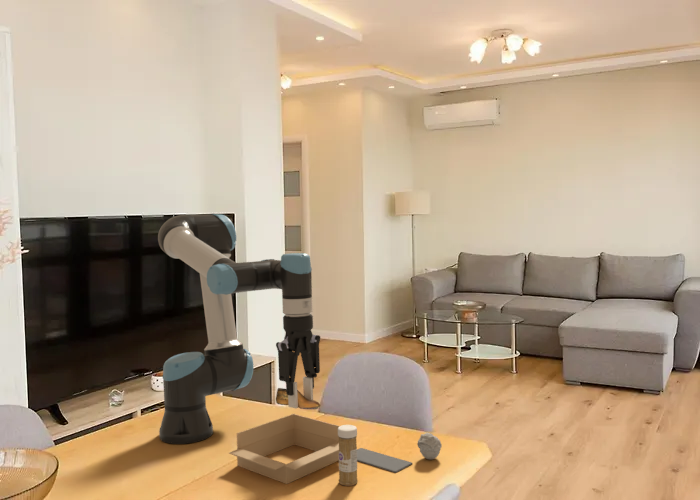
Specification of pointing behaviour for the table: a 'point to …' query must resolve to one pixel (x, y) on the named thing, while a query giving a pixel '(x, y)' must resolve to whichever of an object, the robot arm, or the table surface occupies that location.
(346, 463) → the sprinkles bottle
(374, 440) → the table surface
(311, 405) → the shoe last
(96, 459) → the table surface
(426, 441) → the grey rough lump
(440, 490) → the table surface
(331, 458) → the carton
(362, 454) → the mat
